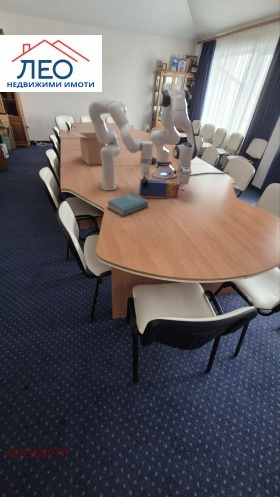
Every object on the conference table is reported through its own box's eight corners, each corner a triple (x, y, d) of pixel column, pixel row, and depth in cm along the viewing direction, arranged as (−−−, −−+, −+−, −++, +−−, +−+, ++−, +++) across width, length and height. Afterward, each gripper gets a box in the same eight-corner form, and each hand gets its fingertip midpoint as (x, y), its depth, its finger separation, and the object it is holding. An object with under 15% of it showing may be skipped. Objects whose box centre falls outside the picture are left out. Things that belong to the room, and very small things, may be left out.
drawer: (181, 195, 176) (184, 183, 170) (183, 197, 172) (185, 185, 166) (152, 193, 172) (154, 181, 166) (154, 196, 168) (155, 183, 162)
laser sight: (159, 165, 238) (161, 156, 232) (139, 163, 241) (140, 153, 235) (161, 163, 246) (162, 153, 240) (141, 161, 248) (141, 151, 242)
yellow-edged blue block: (163, 195, 175) (165, 180, 168) (164, 198, 170) (167, 183, 163) (139, 193, 171) (140, 179, 165) (140, 197, 166) (141, 182, 160)
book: (132, 199, 164) (132, 193, 161) (147, 207, 155) (148, 200, 152) (107, 207, 150) (107, 200, 147) (123, 216, 141) (123, 209, 138)
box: (116, 165, 229) (116, 136, 213) (83, 168, 214) (80, 137, 198) (102, 154, 259) (101, 128, 243) (71, 156, 244) (68, 129, 228)
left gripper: (139, 157, 161) (138, 181, 171) (142, 164, 147) (141, 190, 157) (149, 157, 162) (147, 181, 172) (153, 164, 148) (151, 190, 158)
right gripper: (176, 162, 168) (173, 180, 176) (183, 171, 152) (179, 190, 160) (184, 163, 169) (180, 180, 177) (192, 172, 153) (188, 191, 161)
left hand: (144, 185), depth 165 cm, fingers closed on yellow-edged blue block, 6 cm apart
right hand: (180, 185), depth 169 cm, fingers closed
